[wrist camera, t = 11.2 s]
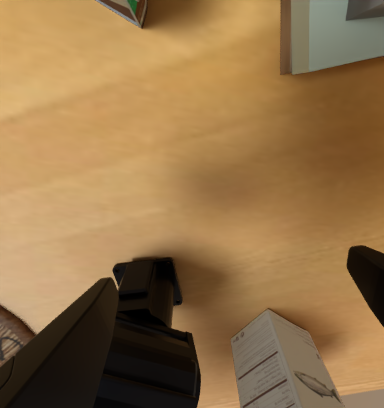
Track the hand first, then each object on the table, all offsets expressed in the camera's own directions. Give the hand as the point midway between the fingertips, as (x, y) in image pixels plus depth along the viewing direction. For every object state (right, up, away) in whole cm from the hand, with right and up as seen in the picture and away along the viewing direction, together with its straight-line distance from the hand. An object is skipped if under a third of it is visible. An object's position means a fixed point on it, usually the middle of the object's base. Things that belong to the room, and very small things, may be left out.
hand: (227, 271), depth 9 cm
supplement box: (+8, -14, +21) cm, 27 cm away
